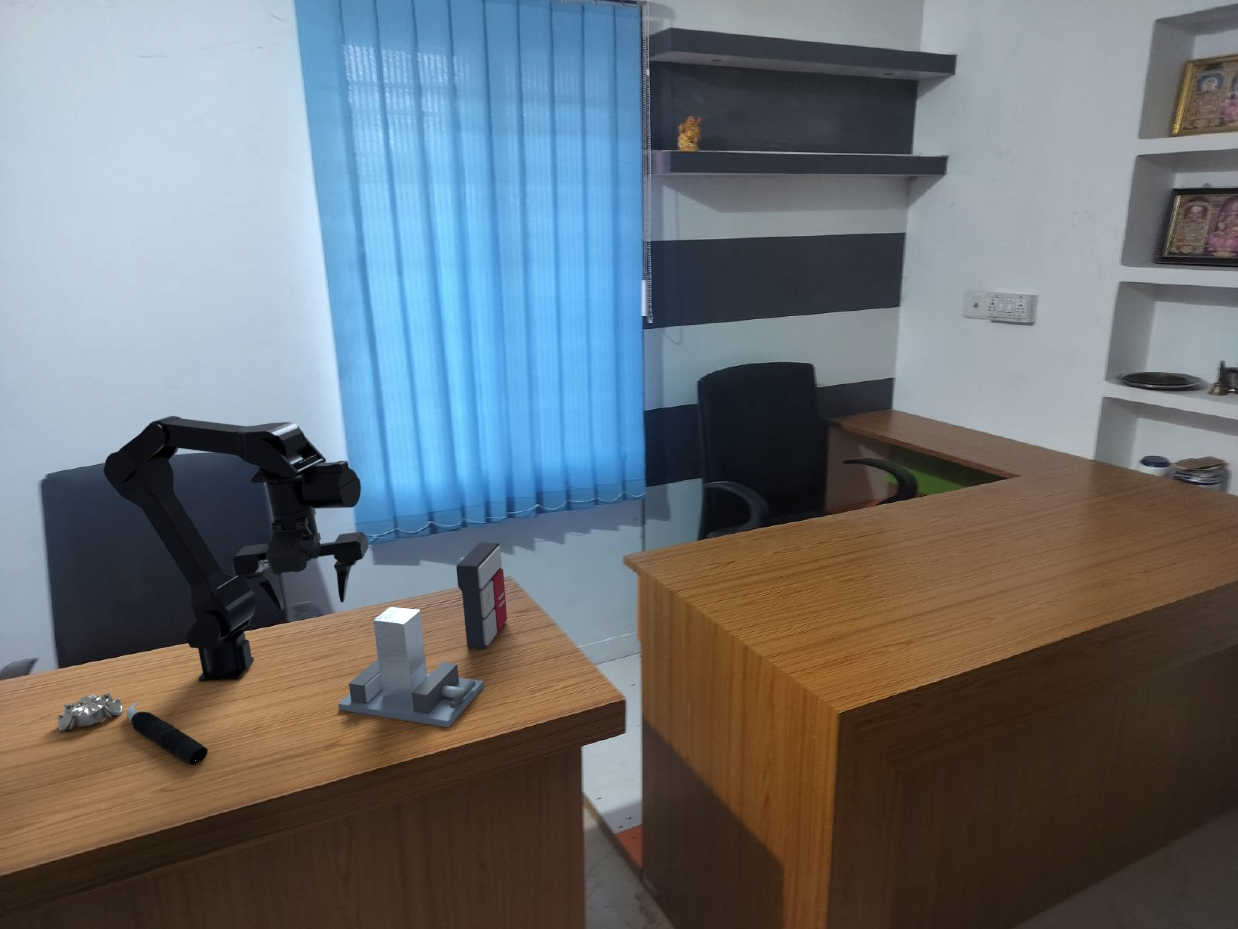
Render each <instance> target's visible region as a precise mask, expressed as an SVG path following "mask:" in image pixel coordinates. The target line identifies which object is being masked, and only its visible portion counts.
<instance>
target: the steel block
mask: <svg viewBox="0 0 1238 929" xmlns="http://www.w3.org/2000/svg"><path fill="white" fill-rule="evenodd" d="M421 616H422V614H421V609H414V608H413V609H412V608H402V607H396V606H395V607H394V606H390V607H388V608H387V609H385V610H384V611H383V612H382V613H381V614H380V615H378V616H377V617H375V618H374V619H373V620H372V621H373V629H374V635H375V636H374V637H375V646H376V651H377V652H376V653H377V659H378V662H379V670H380V678H381V685H382V693H383V697H385V698H392V699H399V700H405V701H412V697H411V693H412V692H413V691H414V690H415V689H416V688H417V687H418V686H419V685H420V684H421V683H422V682H423V681H424V680H425V679H426V678H427V673H428V671H427V669H428V668H427V662H426V661H427V660H426V653H425V644H424V643H425V642H424V633H423V625H422V624H423V622H422V617H421Z"/></svg>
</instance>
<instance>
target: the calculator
mask: <svg viewBox="0 0 1238 929" xmlns="http://www.w3.org/2000/svg"><path fill="white" fill-rule="evenodd" d="M502 563H503V562H502V551H501V545H500V543H499V542H484V541H483V542H482V541H481V542H479V543H477V544H476V545H475V546H474V547H473V548H472V550H470V551H469V552H468V553H467V554H466V556H464V558H463V559H461V560H460V561H459V563H458V564H457V565H456V566H455V567H456V568H455V569H456V578H457V587H458V588H459V590H460V591H461V593H462V594H461V595H462V606H463V607H462V608H463V618H464V627H465V628H464V629H465V637H466V639H465V640H466V647H467V649H471V650H473V649H474V650H485V649H486V647H489V645H490V644H491V642H492V641H493V640H494V639H495V637H496V636H497V633H498V632H499V631H500V630H501V629H502V628H503V626H504V624H505V623H506V622H507V619H508V614H507V600H506V590H505V575H504V574H505V573H504V568H502V565H503V564H502Z"/></svg>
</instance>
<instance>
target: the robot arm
mask: <svg viewBox="0 0 1238 929" xmlns="http://www.w3.org/2000/svg"><path fill="white" fill-rule="evenodd" d="M179 449H182V450H189V451H190V450H191V451H198V452H205V453H212V454H214V453H215V454H222V455H228V456H230V455H231V456H235V457H238V458H240V459H241V460H242V461H244V463H246V464H248V465H250V466H253V467H257V468H258V469H257V472H256V473H255V474H254V475H253V476H252V477H251V479H250V483H252V484H263V483H264V484H265V489H266V493H267V497H268V500H269V501H268V502H269V507H270V510H271V516H272V520H273V521H272V522H271V531H272V534H271V540H270V541H269V544H268V543H260V544H252V545H244V546H243V547H242V548H241V549H240V550H239V551H238V552H237V553H236V554H235V555H234V556H233V558H232V559H231V569H232V575H233V576H232V575H230V574H229V573H227V572H225V571H224V570H223V569H222V568H221V566H220V565H219V563H218V562H217V560H216V559H215V557H214V555H213V554H212V552H211V550H210V549H209V547H208V546H207V544H206V542H205V540H204V539H203V537H202V536H201V534H200V533H199V530H198V529H197V528H196V525H195V524H194V523H193V521H192V519H191V518H190V516H189V514H188V513H187V512H186V509H185V507H184V506H183V504H182V503H181V502H180V500H179V498H178V497H177V495H176V493H175V487H174V485H175V484H174V483H175V478H174V477H175V476H174V470H173V467H172V465H171V464H170V461H171V459H173V457H174V456H175V455H176V454H177V453H178V450H179ZM298 459H300V460H298ZM296 460H297V461H296ZM294 461H296V462H294ZM292 462H293V463H292ZM103 474H104V476H105V478H106V479H107V481H108V482H109V483H110V485H111V486H112V487H113V488H114V489H115V491H116V492H117V493H118V494H119V495H120V497H122V498H123V499H125V500H127V501H129V502H131V503H132V504H134V505H136V506H137V507H139V508H141V510H142V511H143V513H144V514H145V516H146V517H147V519H148V521H149V522H150V524H151V526H152V527H153V529H154V531H155V532H156V534H157V536H158V537H159V538H160V540H161V541H162V544H163V545H164V546H165V548H166V549H167V552H169V555H170V556H171V558H172V560H173V561H174V562H175V564H176V566H177V568H178V570H179V571H180V572H181V574H182V575H183V577H184V579H185V580H186V582H187V583H188V584H189V587H190V590H191V591H190V593H191V600H190V602H191V610H192V612H193V615H194V617H195V619H196V622H195V623H194V624H193V625H192V627H191V628H190V629H189V630H188V631H187V632H186V634H185V635H184V639H185V640H186V642H187V644H188V645H189V648H191V649H197V650H198V656H199V661H200V664H201V670H202V673H201V674H200V675H199V676H198V678H197V679H198V682H217V681H220V682H221V681H233V680H234V681H235V680H239V679H242V677H243V675H244V674H245V673H246V672H247V670H248V669H249V667H250V666H251V665H252V663H253V662H254V660H255V657H253V656H252V651H251V645H250V641H249V639H246V634H245V630H244V629H245V628H247V627H249V626H250V625H251V619H252V617H253V616H254V614H255V612H256V608H257V602H256V600H255V597H254V596H255V595H256V593H255V592H254V591H253V590H252V589H251V587H249V585H248V583H247V581H246V580H252V581H254V582H255V583H258V584H259V585H260V586H261V588H262V589H263V590H264V591H265V592H266V594H267V596H268V597H269V598H270V600H271V601H272V602H273V604H274V606H275V607H276V609H277V610H278V611H280V612H281V611H283V609H284V600H283V599H284V598H283V592H282V588H281V584H280V580H279V575H282V574H283V573H292V572H294V573H300V572H303V571H304V570H305V569H306V568H307V567H308V562H310V561H311V560H314V559H319V557H327V556H328V557H329V556H333V559H335V560H336V562H335V563H334V565H333V567H334V570H335V572H336V581H337V589H338V590H337V592H338V598H339V601H340V603H345V601H346V600H345V599H346V593H347V589H348V583H349V579H350V578H349V576H350V572H351V569H352V566H355V565H356V563H357V562H358V561H360V560H363V559H364V557H365V555H366V553H367V551H368V549H369V548H370V545H369V540H368V537H367V535H366V534H365V533H364V532H363V531H356V532H348V533H339V534H338V536H337V538H335V540H334V541H331V542H325V543H321V542H320V541H321V539H322V537H321V533H320V532H318V527H317V522H316V517H315V516H316V514H317V512H316V510H318V509H320V510H322V509H347V508H349V509H351V508H354V507H356V505H357V504H358V502H359V500H360V497H361V493H362V486H361V480H360V478H359V477H358V475H357V474H356V472H355V470H354V469H353V468H350V467H349V462H348V460H337V461H334V462H333V461H331V462H327V459H326V457H325V456H324V455H323V454H322V453H321V452H320V451H319V450H318V449H317V448H316V447H315V445H313V443H311V442H310V440H309V439H308V438H307V436H305V434H304V432H303V430H302V429H301V428H300V425H298V424H296V423H294V422H291V421H282V422H281V421H280V422H270V423H263V424H262V423H261V424H257V425H237V424H230V423H229V424H228V423H221V422H214V421H213V422H212V421H205V420H196V419H189V418H182V417H180V416H175V415H169V416H166V417H163V418H160V419H157V420H154V421H151V422H149V424H148V425H146V426H145V428H144V429H142V431H141V432H140V433H139V434H137V435H135V437H134V438H132V439H131V440H130V441H128V442H127V443H126V444H124V445H123V446H122V447H121V448H120V449H118V450H117V451H115V452H111V453H109V455H107V456H106V459H105V462H104V466H103Z"/></svg>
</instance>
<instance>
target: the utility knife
mask: <svg viewBox="0 0 1238 929" xmlns="http://www.w3.org/2000/svg"><path fill="white" fill-rule="evenodd" d="M139 703H141V700H140V701H138V702H135V703H133V704H131V705H130V706H129V707H128V709H127V711H126V715H127V718H128V719H129V720H130V723H131V726H132V728H133V729H134V730H135V731H136V732H138V733H139V734H141V735H143V736H144V737H145V738H147V739H148V740H149V741H151V742H153V743H155V744H157V745H158V746H160V747H161V748H162V749H163V750H166V751H167V752H169V753H171V754H172V755H174V756H176V757H177V758H178V759H181V760H182V761H184V762H186V763H187V764H190V765H192V766H193V765H196V764H198V763H201V762H202V761H203V760H204V759H205V758H206V757H207V756H208V752H209V749H208V748H207V747H206V746H204V745H203V744H201V743H200V742H198V741H197V740H196V739H194V738H193V737H192V736H189V735H188V734H186V733H184V732H183V731H181V730H180V729H178V728H176V727H175V726H174V725H172V724H171V723H169V722H168V721H165V720H163V719H161V718H159V717H158V716H156V715H155V714H152V713H151V712H149V711H138V710H136V709H135V708H136V707H137V706H138V704H139ZM195 760H196V761H195Z"/></svg>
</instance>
